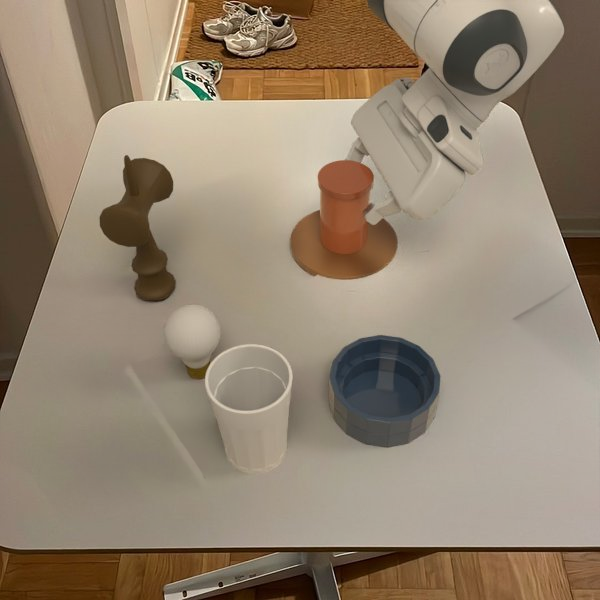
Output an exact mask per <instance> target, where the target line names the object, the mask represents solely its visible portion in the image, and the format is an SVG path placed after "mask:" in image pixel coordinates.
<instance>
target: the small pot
mask: <svg viewBox="0 0 600 600" xmlns="http://www.w3.org/2000/svg"><path fill="white" fill-rule="evenodd" d="M374 179H375V175H374V172H373V171H372V169H371V168H370V167H369V166H368V165H366V164H364V163H363V162H361V163H360V162H356V161H351V160H346V159H341V160H335V161H331V162H328V163H327V164H325V165H324V166H322V167H321V169H320V170H319V171H318V173H317V186H318V189H319V210H320V241H321V244H322V245H323V246H324V247H325V248H326V249H327V250H329V251H331V252H333V253H337V254H351V253H355V252H357V251H359V250H361V249H362V248H363V247H364V246H365V245H366V243H367V236H368V222H367V221H366V219H365V217H364V215H363V210H364V209H365V208H367V206H368V205H369V204H370V203H371V191H372V190H373V187H374V181H375V180H374Z"/></svg>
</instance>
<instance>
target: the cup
mask: <svg viewBox="0 0 600 600" xmlns="http://www.w3.org/2000/svg"><path fill="white" fill-rule="evenodd" d="M293 377H294V376H293V370H292V367H291V364H290V362H289V361H288V360H287V358H286V357H285V356H284V355H283V354H282V353H281V352H279V351H278V350H276V349H274V348H272V347H270V346H267V345H263V344H257V343H246V344H240V345H235V346H233V347H230V348H228V349H226V350H224V351H222V352H221V353H219V354H218V355H217V356H216V357H215V358H214V359H213V360H212V361H210V365H209V367H208V369H207V372H206V375H205V377H204V387H205V391H206V394H207V397H208V399H209V402H210V403H209V404H210V405H211V408H212V411H213V413H214V416H215V419H216V422H217V425H218V429H219V432H220V435H221V439H222V442H223V447H224V451H225V456H226V459H227V460H228V462H229V464H230V465H231V466H233V468H235V469H236V470H238V471H240V472H242V473H245V474H249V475H260V474H264V473H268V472H270V471H272V470H274V469H275V468H277V467H278V466H279V465H280V464H281V463H282V462H283V460H284V459H285V457H286V455H287V451H288V430H289V416H290V415H289V414H290V404H291V399H292V388H293Z"/></svg>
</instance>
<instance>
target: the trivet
mask: <svg viewBox="0 0 600 600" xmlns="http://www.w3.org/2000/svg"><path fill="white" fill-rule="evenodd" d="M398 242H399V241H398V236H397V233H396V231H395V228H393V226H392V225H391V224H390V222H388V221H387V220H386V219H385V218H384V217H383V218H382V219H381V220H380V221H379V222H378V223H377V224H375V225H372V224H370V223H369V222H368V236H367V243H366V245H365V246H364V247H363V248H362V249H361V250H359V251H357V252H355V253H351V254H337V253H333V252H331V251H329V250H327V249H326V248H325V247H324V246H323V245H322V244H321V241H320V209H318V210H316V211H313V212H311V213H309V214H307V215H306V216H304V217H303V218H302V219H300V221H298V222H297V224H296V225H295V226H294V228H293V230H292V232H291V234H290V251H291V255H292V258H293V259H294V261H295V262H296V264H297V265H298V266H299V267H300V268H301V269H302V270H303V271H305V272H306V273H308V274H309V275H311V276H313V277H316V276H320V277H324V278H326V279H332V280H341V281H347V280H349V281H350V280H359V279H363V278H367V277H370V276H372V275H375V274H377V273H379V272H381V271H383V270H384V269H385V268H387V267H388V266H389V265H390V263H392V261H393V260H394V258H395V257H396V254H397V251H398Z"/></svg>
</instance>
